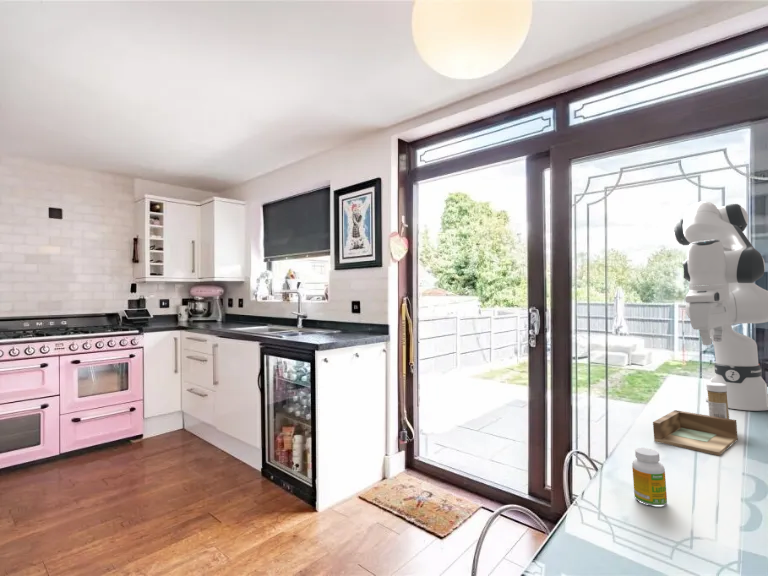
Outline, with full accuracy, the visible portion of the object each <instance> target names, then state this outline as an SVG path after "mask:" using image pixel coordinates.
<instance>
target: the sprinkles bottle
mask: <svg viewBox="0 0 768 576" xmlns="http://www.w3.org/2000/svg"><path fill="white" fill-rule="evenodd" d="M705 387H706V390H707V397H708V401H707V403H708V405H707V406H708V416H714V417H720V418H726V419H730V411H729V410H730V409H729V408H728V402H727V385H726V384H722V383H710V382H707V383H706V385H705Z"/></svg>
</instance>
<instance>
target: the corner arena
mask: <svg viewBox="0 0 768 576" xmlns="http://www.w3.org/2000/svg"><path fill="white" fill-rule="evenodd" d="M737 424H738V423H737V420H736V419H731V418H729V419H726V418H720V417H714V416H709V414H708V415H707V414H702V413H700V414H699V413H696V412H695V413H694V412H690V411H689V412H688V411H683V410H673V411H671V412H669V413H667V414H665V415H663V416H661V417H660V418H658V419H656V420H654V421H653V422H652V425H653V427H652V428H653V440H654V441H653V442H656V443H661V444H666V445H669V446H674V447H679V448H683V449H688V450H691V451H696V452H701V453H704V454H709V453H710V455H713V454H714V456H721V455H722V454H723V453H724V452H725V451H727V448H728V447H729V446H730V445H731V444H732V443H733V444H735V443H736V442H737V441H738V440H739V439H738V437H739V436H738V427H737V426H738V425H737ZM736 440H737V441H736ZM735 441H736V442H735ZM734 442H735V443H734ZM733 444H732V445H733ZM732 445H731V446H732ZM731 446H730V447H731ZM730 447H729V448H730ZM729 448H728V449H729Z"/></svg>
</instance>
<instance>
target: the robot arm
mask: <svg viewBox="0 0 768 576" xmlns="http://www.w3.org/2000/svg"><path fill="white" fill-rule="evenodd" d="M748 221H749V214H748V212H747V211H746V209H745V208H744V207H742V206H741V204H738V203H731V204H725V205H724V206H719V207H717V206H716V205H715V204H714V203H712V202H710V201H699V202H695V203H693V204H691V205H690V206H689V207H688V208H687V210H686V212H685V213H684V216H683V217H682V218H681V219H679V220H678V221H676V222H675V223H674V224H673V228H672V234H673V238H674V239H675V240H676V242H678V243H679V244H680V245H682V246H688V248H687V258H686V259H684V260H683V261H682V265H683V267H682V268H683V279H685V280H686V281H688V282H689V283H688V289H689V290H688V293H686V295H685V302H686V303H685V314H686V316H688V318H689V321H690V325H691V328H692V330H699V331H698V333H699V335H700V337H701V341H702V342H701V343H702V345H704V346H710V345H712V344H713V350H714V355H715V356H714V357H715V362H714V366H713V368H714V375H713V376H712V377H711V378H710V380H709V383H722V384H726V385H727V402H728V409H733V410H738V411H752V412H753V411H756V412H757V411H758V412H759V411H768V383H766V381H765V380H764V379H763V376H762V375H763V373H762V372H763V371H762V367H761V365H760V363H759V355H758V354H759V352H758V344H757V341H755V340H754V339H753V338H751V337H750V336H748V335H746V334H743V333H739V332H738V331H735V330H734V329H733V328H732V327H733V326H732V325H735V324H736V325H737V324H763V323H764V324H765V323H768V290H767V289H764V288H763V287H761V286H759V285H757V284H756V283H755V282H757V281H758V280H759V279H761V278H762V277H763V276H764V275H765V271H766V263H765V259H764V258H763V257H764V256H762V254H761V252H760V251H758V250H757V249H756V248H755V247H754V246H753V245H752V242H750V239H748V237H747V236H746V234H745V233H744V231H745V229H747V227H748ZM705 401H706V402H708V396H706V397H705Z"/></svg>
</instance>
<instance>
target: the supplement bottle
mask: <svg viewBox="0 0 768 576" xmlns="http://www.w3.org/2000/svg"><path fill="white" fill-rule="evenodd" d="M634 451H635V459H634V460H632V463H631V464H632V465H631V467H632V478H633V479H632V481H633V493H634V494H633V495H634V498H635V497H636V499H637V500H639V501H641V502H643V503H645V504H648V505H665V504H666V505H668V504H667V503H668V499H667V497H668V495H667V494H668V493H667V484H666V471H665V469H666V468H665V466H664V465H663V464H662V463H661V462H660V459H661V458H660V453H659V451H657V450H656V449H652V448H647V447H637V448H635V450H634ZM636 499H635V500H636ZM637 500H636V501H637ZM666 505H665V506H666Z"/></svg>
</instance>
